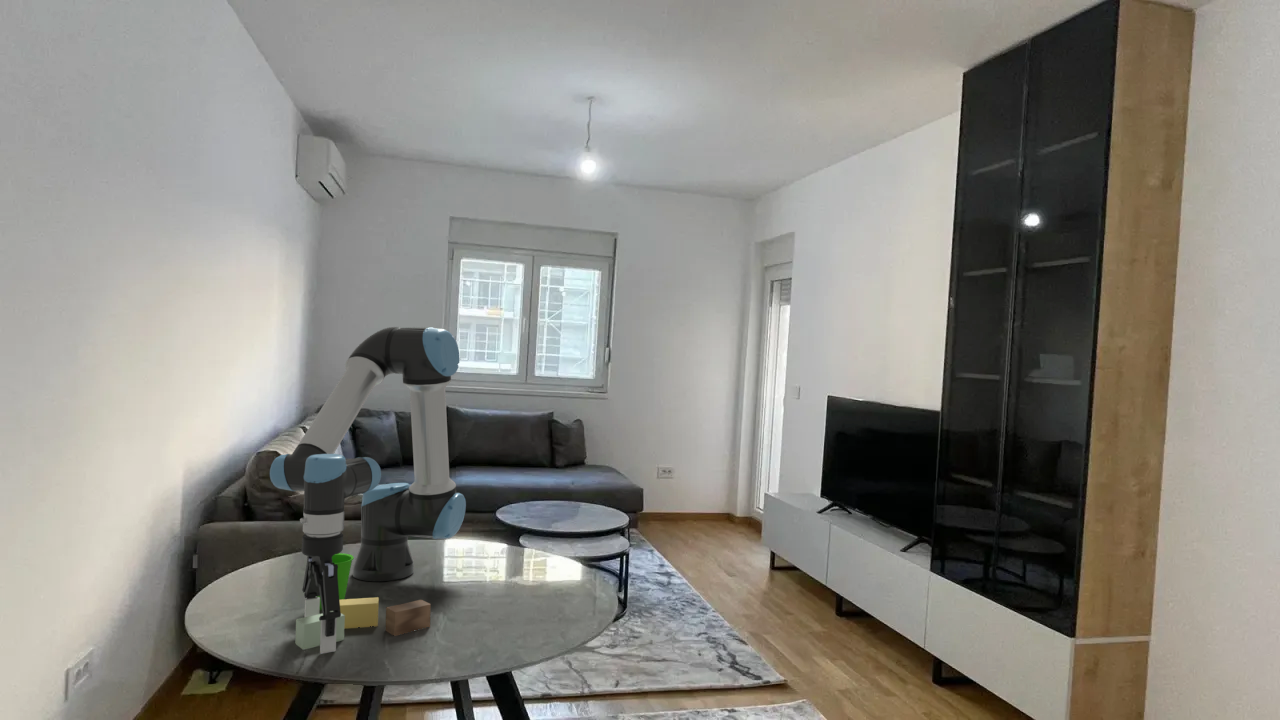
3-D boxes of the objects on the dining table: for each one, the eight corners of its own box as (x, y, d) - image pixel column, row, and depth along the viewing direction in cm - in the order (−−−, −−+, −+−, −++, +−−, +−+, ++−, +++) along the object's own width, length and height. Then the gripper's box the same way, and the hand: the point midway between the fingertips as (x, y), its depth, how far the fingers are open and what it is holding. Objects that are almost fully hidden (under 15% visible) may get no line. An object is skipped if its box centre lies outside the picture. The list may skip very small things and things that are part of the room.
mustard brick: (336, 629, 157) (337, 605, 157) (338, 623, 160) (339, 599, 160) (377, 626, 159) (378, 603, 159) (378, 620, 163) (378, 597, 163)
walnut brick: (394, 636, 154) (395, 612, 154) (385, 631, 156) (386, 607, 156) (430, 627, 159) (430, 604, 159) (420, 622, 162) (421, 599, 162)
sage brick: (303, 650, 145) (303, 624, 145) (295, 644, 148) (296, 619, 148) (344, 640, 151) (344, 615, 151) (335, 634, 154) (336, 610, 154)
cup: (360, 603, 173) (362, 555, 173) (332, 616, 164) (334, 565, 164) (329, 598, 176) (330, 551, 176) (299, 610, 167) (301, 560, 167)
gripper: (289, 522, 157) (285, 625, 157) (318, 549, 137) (314, 666, 137) (327, 519, 162) (323, 618, 162) (360, 544, 142) (356, 657, 142)
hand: (319, 640), depth 149 cm, fingers open, 13 cm apart
